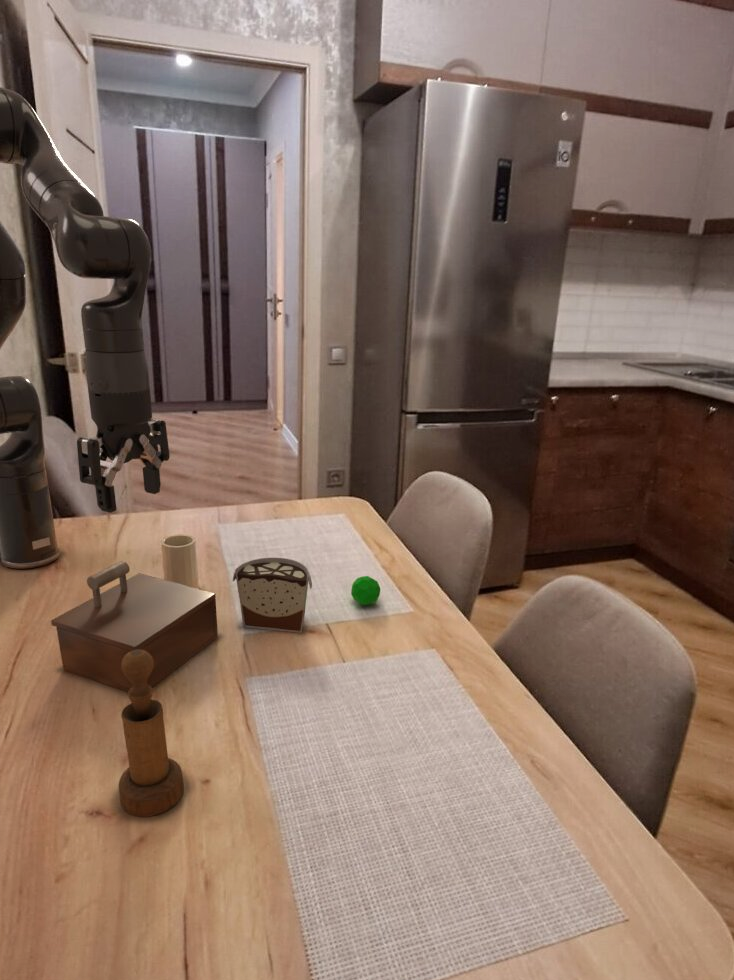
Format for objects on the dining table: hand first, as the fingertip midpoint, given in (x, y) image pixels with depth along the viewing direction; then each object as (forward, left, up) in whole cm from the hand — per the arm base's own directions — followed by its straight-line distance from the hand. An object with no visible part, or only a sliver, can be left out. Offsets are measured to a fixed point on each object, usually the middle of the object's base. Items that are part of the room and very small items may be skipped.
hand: (131, 501), depth 93 cm
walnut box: (+3, -4, -22) cm, 22 cm away
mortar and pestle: (+23, -25, -22) cm, 40 cm away
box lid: (+3, -4, -15) cm, 16 cm away
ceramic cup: (-4, +13, -22) cm, 26 cm away
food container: (+15, +13, -22) cm, 30 cm away
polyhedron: (+25, +25, -22) cm, 42 cm away
